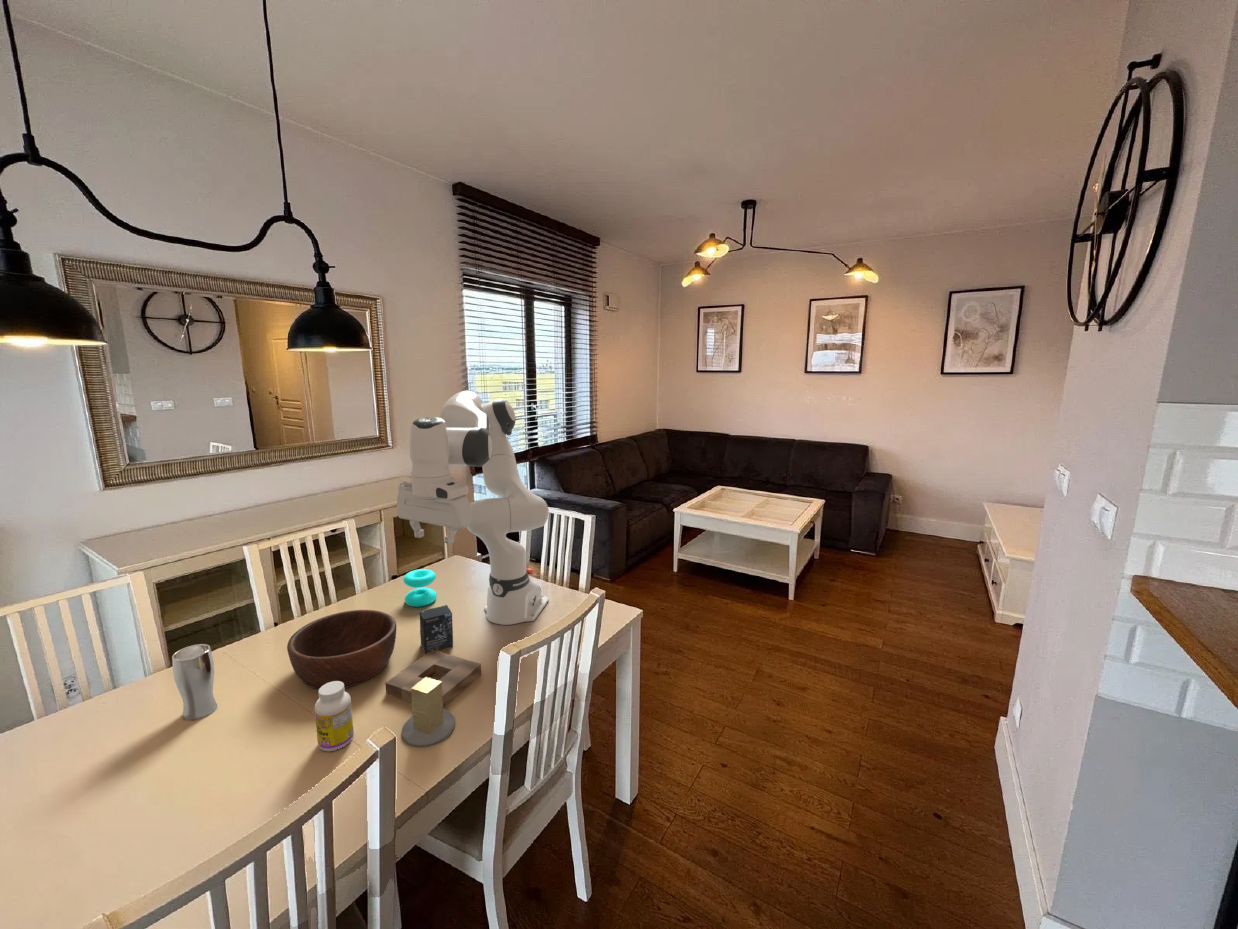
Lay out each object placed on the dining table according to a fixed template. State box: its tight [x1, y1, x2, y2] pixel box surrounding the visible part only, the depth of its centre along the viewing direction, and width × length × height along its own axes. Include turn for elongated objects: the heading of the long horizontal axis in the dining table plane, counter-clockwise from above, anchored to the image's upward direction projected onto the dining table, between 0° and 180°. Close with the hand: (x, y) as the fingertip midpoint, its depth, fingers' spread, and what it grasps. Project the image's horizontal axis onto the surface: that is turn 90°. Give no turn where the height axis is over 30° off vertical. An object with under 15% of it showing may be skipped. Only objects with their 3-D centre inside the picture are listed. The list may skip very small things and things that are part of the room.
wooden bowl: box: [286, 609, 397, 690], centre depth 132 cm, size 25×25×10 cm
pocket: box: [384, 650, 482, 708], centre depth 127 cm, size 16×16×3 cm
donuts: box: [403, 568, 437, 608], centre depth 170 cm, size 10×10×10 cm
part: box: [411, 677, 444, 735], centre depth 111 cm, size 4×4×10 cm
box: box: [419, 604, 454, 654], centre depth 144 cm, size 8×6×11 cm
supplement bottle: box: [314, 681, 354, 752], centre depth 106 cm, size 7×7×13 cm
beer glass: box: [171, 643, 218, 721], centre depth 114 cm, size 7×7×15 cm
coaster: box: [401, 708, 456, 748], centre depth 112 cm, size 11×11×1 cm
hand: (434, 539), depth 124 cm, fingers open, 8 cm apart
